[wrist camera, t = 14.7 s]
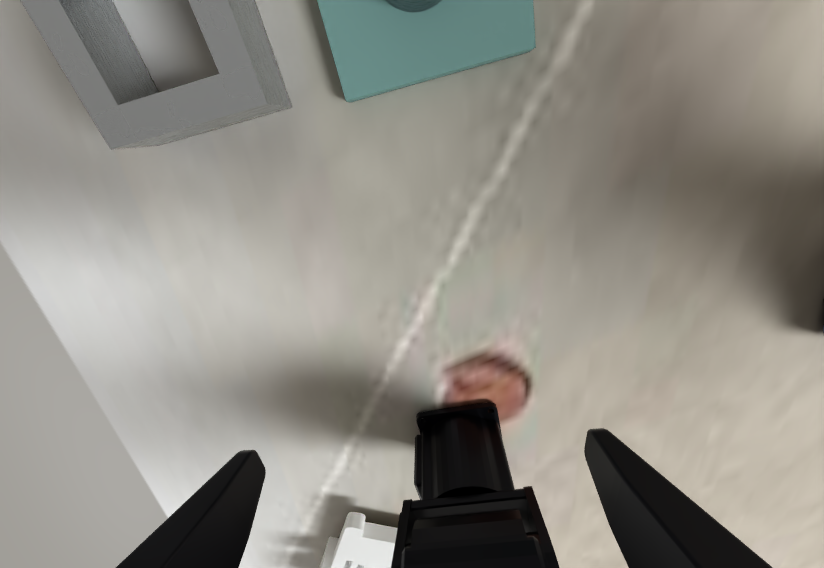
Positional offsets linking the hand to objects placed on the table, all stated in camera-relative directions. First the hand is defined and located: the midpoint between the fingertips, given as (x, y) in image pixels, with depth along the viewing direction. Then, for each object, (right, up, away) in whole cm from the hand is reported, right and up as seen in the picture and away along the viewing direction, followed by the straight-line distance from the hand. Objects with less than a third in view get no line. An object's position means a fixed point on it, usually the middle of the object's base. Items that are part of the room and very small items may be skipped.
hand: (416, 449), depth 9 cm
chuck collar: (-11, +16, +7) cm, 21 cm away
